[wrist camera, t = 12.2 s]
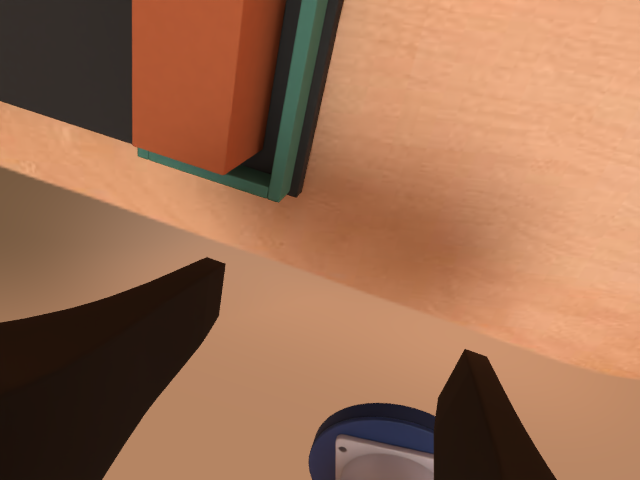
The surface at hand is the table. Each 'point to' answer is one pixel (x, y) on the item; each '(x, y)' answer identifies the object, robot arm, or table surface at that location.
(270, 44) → the pad piece
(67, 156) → the table surface
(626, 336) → the table surface
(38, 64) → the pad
